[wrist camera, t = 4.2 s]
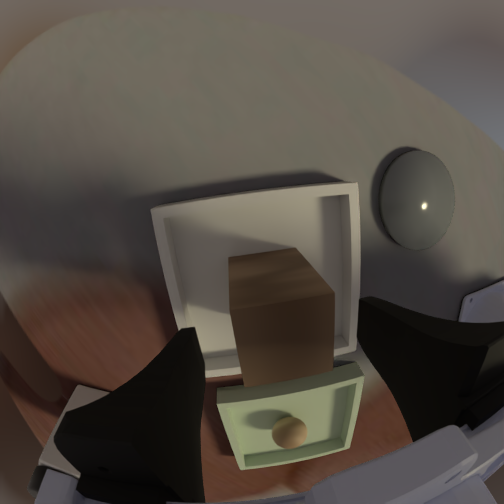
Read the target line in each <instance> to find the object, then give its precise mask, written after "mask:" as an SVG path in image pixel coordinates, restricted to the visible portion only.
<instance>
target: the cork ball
mask: <svg viewBox="0 0 504 504" xmlns="http://www.w3.org/2000/svg"><path fill="white" fill-rule="evenodd" d="M306 437H307V427H306V425H305V423H304V422H303V421H302V420H300V419H298V418H296V417H285V418H282V419H280V420H279V421H278V422H276V424H275V425H274V427H273V429H272V438H273V441H274V442H275V443H276V444H277V445H278V446H279V447H281V448H285V449H293V448H296V447H298V446H300V445H301V444H302V443H303V442H304V441H305V439H306Z"/></svg>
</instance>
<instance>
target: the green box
mask: <svg viewBox="0 0 504 504" xmlns="http://www.w3.org/2000/svg"><path fill="white" fill-rule="evenodd" d="M364 376H365V375H364V374H363V372H362V370H361V369H360V367H359V366H358V364H357V363H356V362H354V363H350V364H346V365H343V366H339V367H335V368H333V371H330V372H326V373H322V374H317V375H313V376H308V377H303V378H299V379H293V380H288V381H283V382H277V383H271V384H265V385H259V386H252V387H244V385H238V386H230V387H220V388H217V407H218V410H219V413H220V416H221V419H222V422H223V425H224V427H225V430H226V433H227V436H228V439H229V441H230V444H231V447H232V450H233V452H234V455H235V458H236V460H237V463H238V465H239V468H240V470H244V469H253V468H261V467H269V466H275V465H281V464H287V463H292V462H297V461H302V460H307V459H311V458H315V457H319V456H323V455H327V454H331V453H335V452H338V451H342V450H345V449H348V448H349V447H350V444H351V440H352V436H353V431H354V427H355V423H356V418H357V414H358V409H359V404H360V399H361V393H362V388H363V382H364ZM285 417H296V418H298V419H300V420H302V421H303V422H304V423H305V425H306V427H307V437H306V439H305V441H304V442H303V443H302V444H301V445H300V446H298V447H296V448H293V449H285V448H281V447H279V446H278V445H277V444H276V443H275V442H274V441H273V438H272V429H273V427H274V425H275V424H276V422H278V421H279V420H280V419H282V418H285Z"/></svg>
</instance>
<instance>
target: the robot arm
mask: <svg viewBox="0 0 504 504" xmlns="http://www.w3.org/2000/svg"><path fill="white" fill-rule="evenodd" d="M356 337H357V339H358V341H359V343H360V345H361V347H362V349H363V351H364V353H365V354H366V356H367V357H368V359H369V360H370V362H371V363H372V364H373V366H374V367H375V369H376V370H377V372H378V373H379V374H380V376H381V377H382V379H383V380H384V381H385V383H386V384H387V386H388V387H389V389H390V391H391V392H392V394H393V396H394V398H395V400H396V402H397V404H398V406H399V408H400V410H401V413H402V415H403V417H404V419H405V422H406V424H407V427H408V429H409V432H410V435H411V437H412V440H413V443H411V444H409V445H407V446H405V447H402V448H400V449H398V450H396V451H393V452H391V453H388V454H386V455H384V456H381V457H379V458H376V459H373V460H371V461H368V462H365V463H362V464H359V465H356V466H353V467H351V468H348V469H346V470H343V471H341V472H338V473H336V474H333V475H331V476H329V477H327V478H325V479H324V480H322V481H320V482H318V483H317V484H315V485H314V486H313V487H312V488H311V490H310V491H306V492H302V493H297V494H292V495H286V496H280V497H274V498H267V499H259V500H250V501H239V502H223V503H205V496H204V488H203V477H202V464H201V441H200V429H201V417H202V408H203V400H204V391H205V362H204V358H203V355H202V351H201V347H200V344H199V340H198V336H197V332H196V329H195V327H188V328H181V329H180V330H179V331H178V332H177V333H176V335H175V336H174V337H173V338H172V339H171V341H170V342H169V343H168V344H167V345H166V346H165V347H164V349H163V350H162V351H161V352H160V353H159V354H158V355H157V356H156V357H155V358H154V359H153V360H152V361H151V362H150V363H149V364H148V365H147V366H146V367H145V368H144V369H143V370H142V371H140V372H139V373H138V374H137V375H136V376H134V377H133V378H132V379H130V380H129V381H128V382H126V383H125V384H123V385H122V386H120V387H119V388H117V389H116V390H114V391H112V392H111V393H109V394H107V395H105V396H103V397H102V398H100V399H97V400H95V401H93V402H91V403H89V404H86V405H84V406H81V407H78V408H76V409H73V410H70V411H67V412H66V413H65V415H64V417H63V419H62V421H61V423H60V425H59V427H58V429H57V431H56V433H55V435H54V443H55V446H56V448H57V449H58V451H59V452H60V453H61V454H62V455H63V457H64V458H65V459H66V460H67V461H68V462H69V463H70V464H71V465H72V466H73V467H74V468H75V469H76V470H77V471H79V472H80V473H81V474H80V477H79V480H77V479H76V478H74V477H72V476H69V475H66V474H63V473H60V472H57V471H54V470H51V469H47V471H46V473H45V476H44V478H43V481H42V483H41V486H40V489H39V491H38V494H37V497H36V500H35V503H34V504H497V503H496V501H495V499H494V498H493V496H492V495H491V493H490V492H489V490H488V489H487V487H486V486H485V484H484V481H485V480H486V479H487V478H488V477H490V476H491V475H492V474H493V473H494V472H495V471H497V470H498V469H499V468H500V467H501V466H502V465H503V464H504V280H502V281H500V282H498V283H496V284H493V285H491V286H489V287H486V288H484V289H481V290H479V291H477V292H474V293H472V294H469V295H467V296H465V297H464V299H463V302H462V307H461V312H460V316H459V320H458V321H451V320H445V319H440V318H436V317H431V316H428V315H424V314H421V313H418V312H415V311H412V310H409V309H406V308H403V307H400V306H398V305H395V304H392V303H390V302H387V301H384V300H381V299H379V298H375V297H371V296H370V297H365V298H361V299H359V305H358V322H357V336H356Z"/></svg>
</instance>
